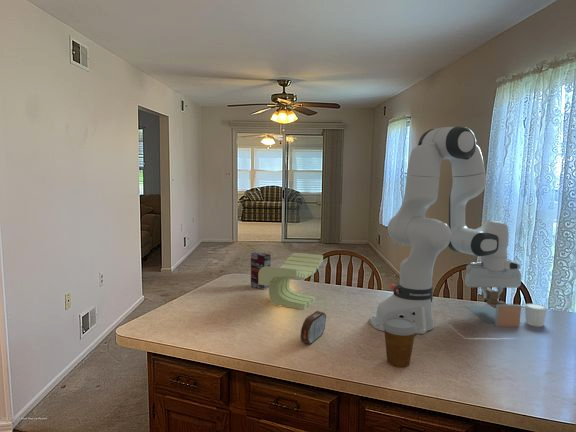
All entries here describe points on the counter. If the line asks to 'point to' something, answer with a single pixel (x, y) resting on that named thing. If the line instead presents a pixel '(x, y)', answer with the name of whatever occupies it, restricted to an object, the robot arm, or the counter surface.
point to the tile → (507, 315)
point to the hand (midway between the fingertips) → (491, 298)
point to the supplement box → (258, 267)
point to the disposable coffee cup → (399, 340)
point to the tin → (313, 327)
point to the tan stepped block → (492, 298)
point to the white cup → (535, 314)
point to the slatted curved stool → (280, 278)
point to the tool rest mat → (484, 312)
